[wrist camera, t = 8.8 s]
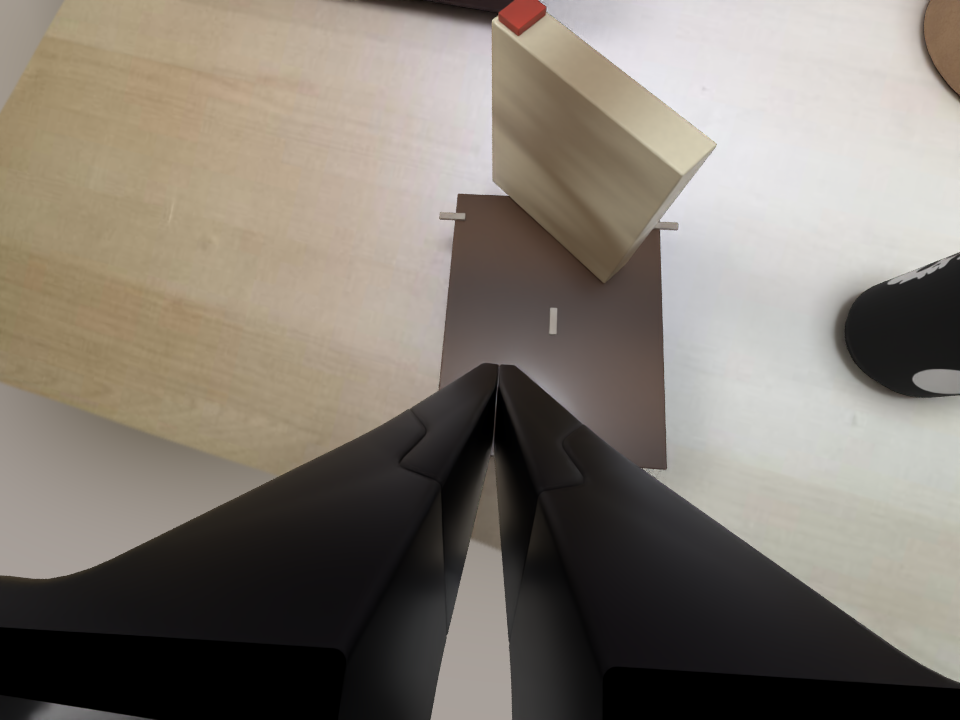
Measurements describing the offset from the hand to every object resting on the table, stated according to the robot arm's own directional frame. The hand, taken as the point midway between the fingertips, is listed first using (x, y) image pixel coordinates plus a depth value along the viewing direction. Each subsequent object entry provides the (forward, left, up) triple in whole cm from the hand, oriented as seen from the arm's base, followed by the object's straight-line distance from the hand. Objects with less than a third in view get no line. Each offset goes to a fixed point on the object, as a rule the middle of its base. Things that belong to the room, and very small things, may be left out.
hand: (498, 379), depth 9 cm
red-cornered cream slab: (+7, -8, -9) cm, 14 cm away
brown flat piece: (+5, -6, -12) cm, 14 cm away
